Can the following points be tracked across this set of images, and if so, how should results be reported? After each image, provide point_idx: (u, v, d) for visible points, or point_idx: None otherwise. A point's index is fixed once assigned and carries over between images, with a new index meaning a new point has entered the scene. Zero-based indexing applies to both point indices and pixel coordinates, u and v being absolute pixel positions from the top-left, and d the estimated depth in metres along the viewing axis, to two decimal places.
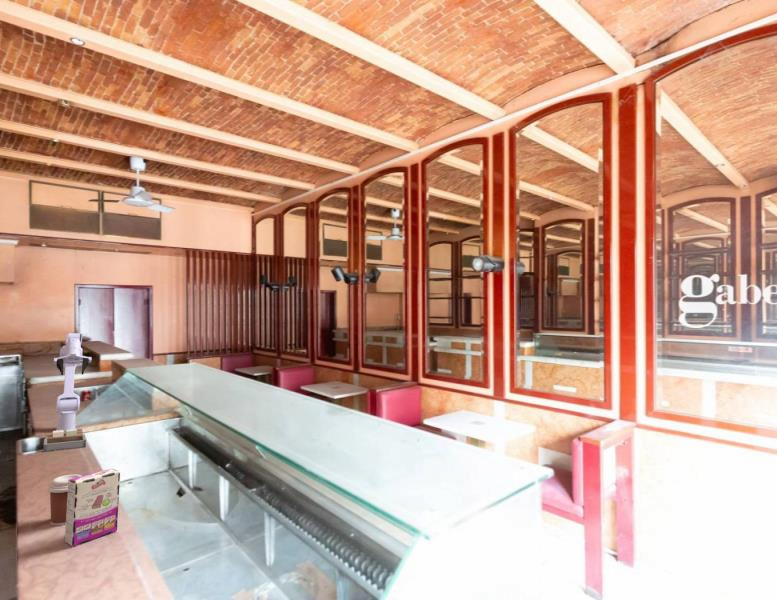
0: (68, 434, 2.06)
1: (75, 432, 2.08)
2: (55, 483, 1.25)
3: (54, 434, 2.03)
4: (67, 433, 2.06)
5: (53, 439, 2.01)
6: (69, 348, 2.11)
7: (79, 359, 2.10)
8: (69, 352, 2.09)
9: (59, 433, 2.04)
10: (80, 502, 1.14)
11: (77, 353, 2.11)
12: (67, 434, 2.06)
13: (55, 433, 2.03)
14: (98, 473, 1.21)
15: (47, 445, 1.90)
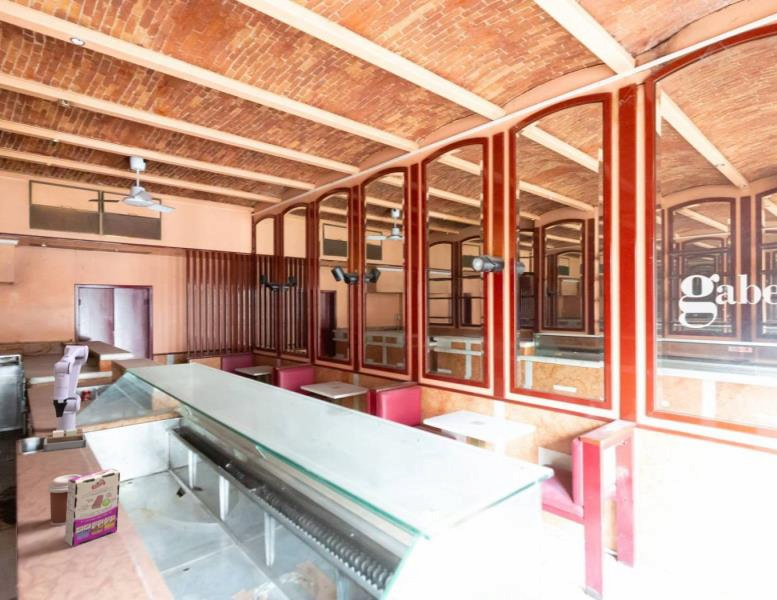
0: (68, 434, 2.06)
1: (75, 432, 2.08)
2: (55, 483, 1.25)
3: (54, 434, 2.03)
4: (67, 433, 2.06)
5: (53, 439, 2.01)
6: (56, 387, 2.09)
7: None
8: None
9: (59, 433, 2.04)
10: (80, 502, 1.14)
11: (54, 394, 2.09)
12: (67, 434, 2.06)
13: (55, 433, 2.03)
14: (98, 473, 1.21)
15: (47, 445, 1.90)
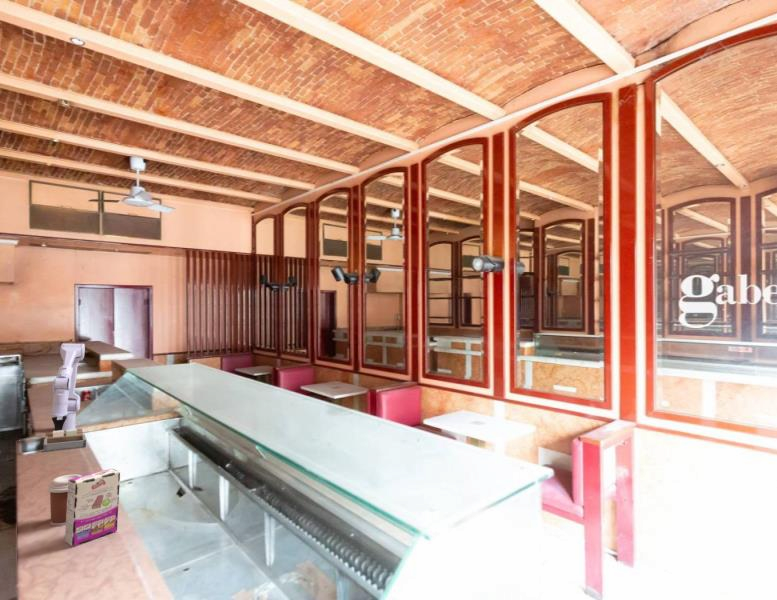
0: (68, 434, 2.06)
1: (75, 432, 2.08)
2: (55, 483, 1.25)
3: (54, 434, 2.03)
4: (67, 433, 2.06)
5: (53, 439, 2.01)
6: (55, 403, 2.06)
7: None
8: None
9: (59, 433, 2.04)
10: (80, 502, 1.14)
11: (53, 411, 2.06)
12: (67, 434, 2.06)
13: (55, 433, 2.03)
14: (98, 473, 1.21)
15: (47, 445, 1.90)
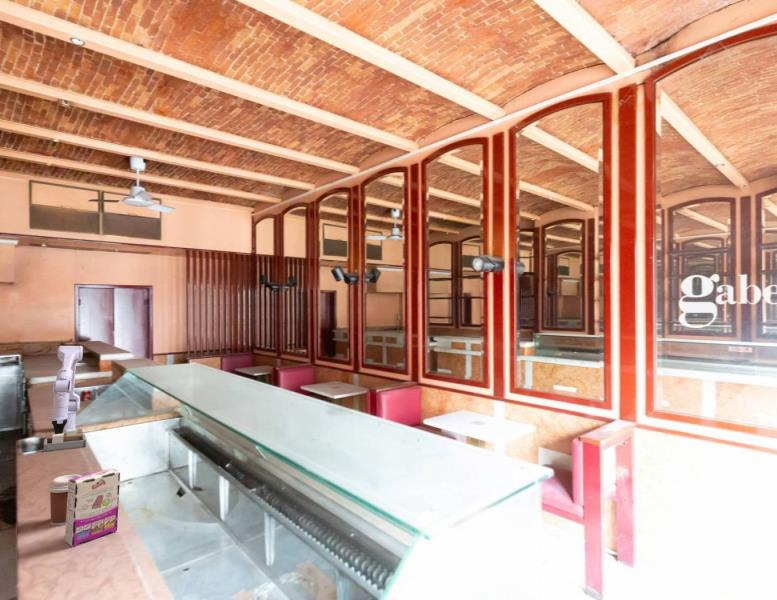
0: (68, 434, 2.06)
1: (75, 432, 2.08)
2: (55, 483, 1.25)
3: None
4: (67, 433, 2.06)
5: None
6: (55, 406, 1.99)
7: None
8: None
9: None
10: (80, 502, 1.14)
11: (53, 414, 1.99)
12: (67, 434, 2.06)
13: None
14: (98, 473, 1.21)
15: (47, 445, 1.90)
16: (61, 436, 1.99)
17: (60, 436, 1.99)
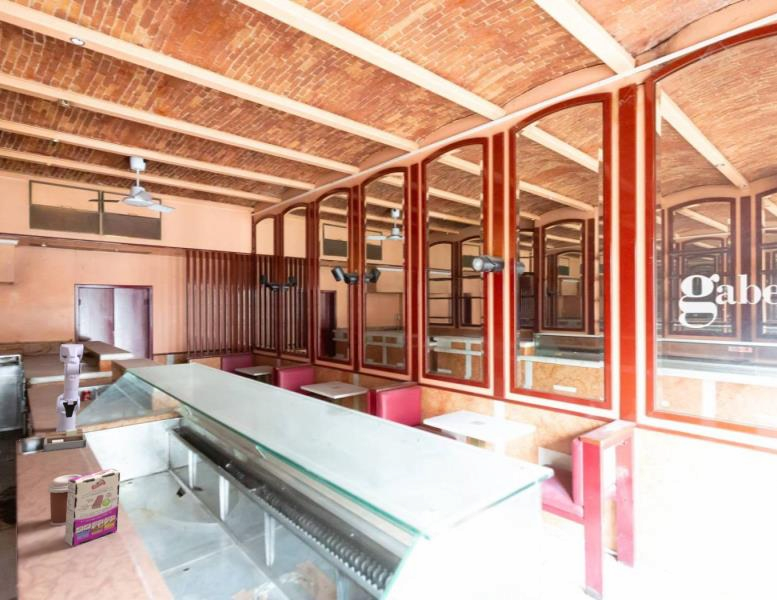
0: (68, 434, 2.06)
1: (75, 432, 2.08)
2: (55, 483, 1.25)
3: None
4: (67, 433, 2.06)
5: (53, 439, 2.01)
6: (67, 388, 2.09)
7: None
8: None
9: None
10: (80, 502, 1.14)
11: (64, 395, 2.09)
12: (67, 434, 2.06)
13: None
14: (98, 473, 1.21)
15: (47, 445, 1.90)
16: None
17: None
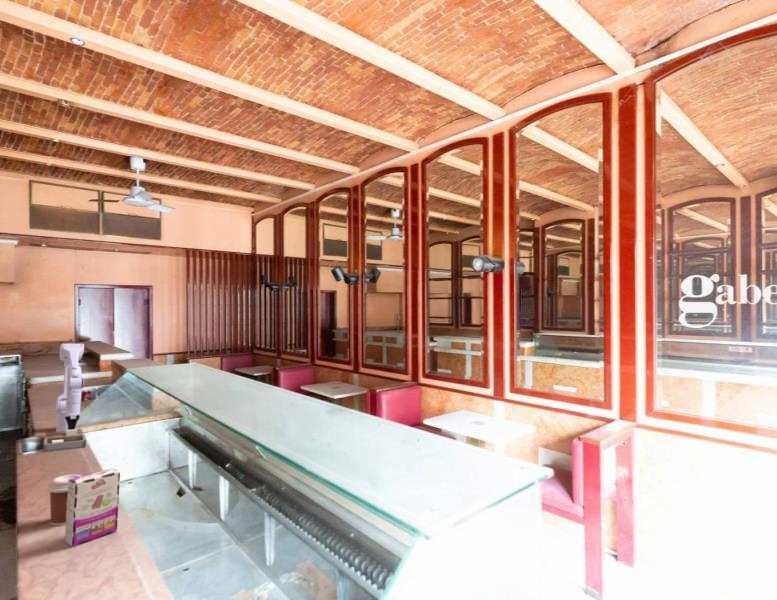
0: (68, 434, 2.06)
1: (75, 432, 2.07)
2: (55, 483, 1.25)
3: None
4: (67, 433, 2.05)
5: (53, 439, 2.01)
6: (69, 403, 2.08)
7: (70, 415, 2.08)
8: None
9: None
10: (80, 502, 1.14)
11: (67, 410, 2.08)
12: (67, 434, 2.05)
13: None
14: (98, 473, 1.21)
15: (47, 445, 1.90)
16: None
17: None
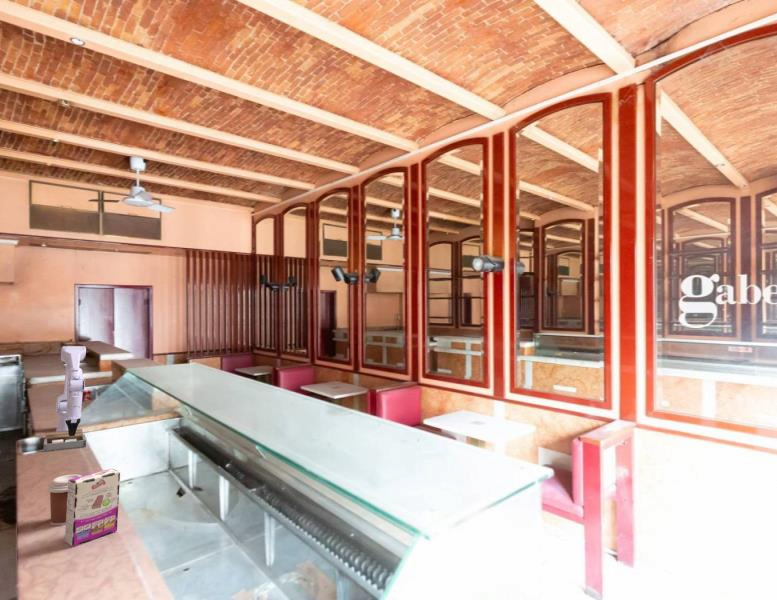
0: None
1: None
2: (55, 483, 1.25)
3: None
4: None
5: (53, 439, 2.01)
6: (70, 406, 2.01)
7: None
8: None
9: None
10: (80, 502, 1.14)
11: (67, 413, 2.01)
12: None
13: None
14: (98, 473, 1.21)
15: (47, 445, 1.90)
16: None
17: None
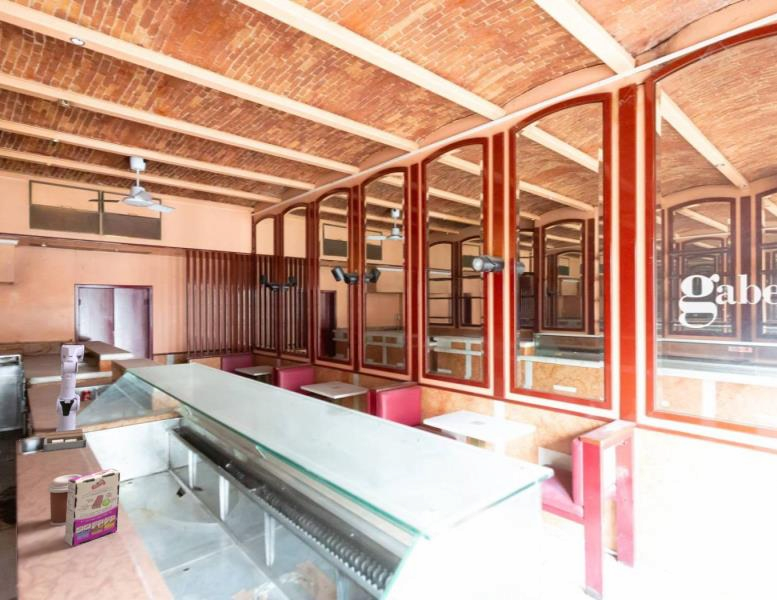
0: None
1: None
2: (55, 483, 1.25)
3: None
4: None
5: (53, 439, 2.01)
6: (63, 387, 2.10)
7: (65, 399, 2.10)
8: None
9: None
10: (80, 502, 1.14)
11: (61, 394, 2.10)
12: None
13: None
14: (98, 473, 1.21)
15: (47, 445, 1.90)
16: None
17: None
